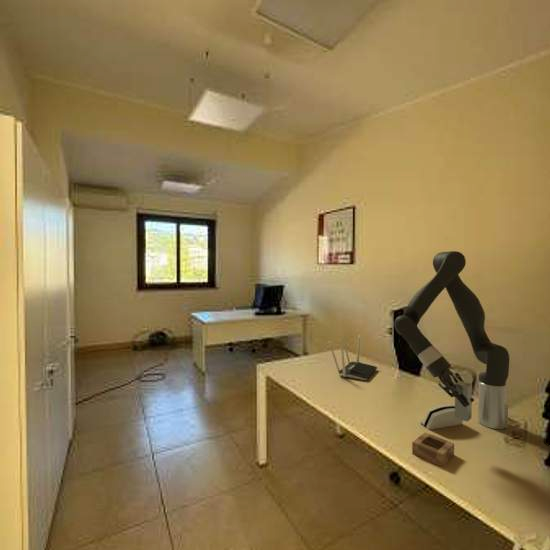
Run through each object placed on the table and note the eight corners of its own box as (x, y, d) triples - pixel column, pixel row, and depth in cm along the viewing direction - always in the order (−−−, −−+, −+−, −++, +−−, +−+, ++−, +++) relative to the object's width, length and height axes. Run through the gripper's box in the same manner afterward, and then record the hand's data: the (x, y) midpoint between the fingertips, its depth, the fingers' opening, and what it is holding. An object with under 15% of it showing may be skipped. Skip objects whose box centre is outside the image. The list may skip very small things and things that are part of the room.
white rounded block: (452, 418, 136) (459, 400, 132) (461, 427, 131) (468, 408, 128) (419, 423, 132) (425, 404, 128) (426, 432, 127) (432, 413, 124)
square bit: (458, 413, 114) (459, 380, 114) (471, 417, 111) (472, 383, 111) (454, 417, 111) (455, 383, 111) (467, 421, 108) (468, 386, 108)
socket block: (424, 442, 117) (424, 432, 117) (454, 454, 110) (454, 443, 110) (412, 453, 111) (412, 442, 111) (442, 467, 103) (442, 454, 103)
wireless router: (364, 384, 175) (364, 348, 175) (325, 377, 187) (325, 343, 187) (379, 368, 204) (379, 337, 203) (345, 362, 216) (345, 333, 215)
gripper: (433, 359, 112) (471, 404, 103) (448, 352, 121) (485, 393, 112) (418, 370, 116) (453, 415, 107) (434, 362, 125) (468, 403, 116)
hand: (469, 403), depth 110 cm, fingers closed on square bit, 4 cm apart
